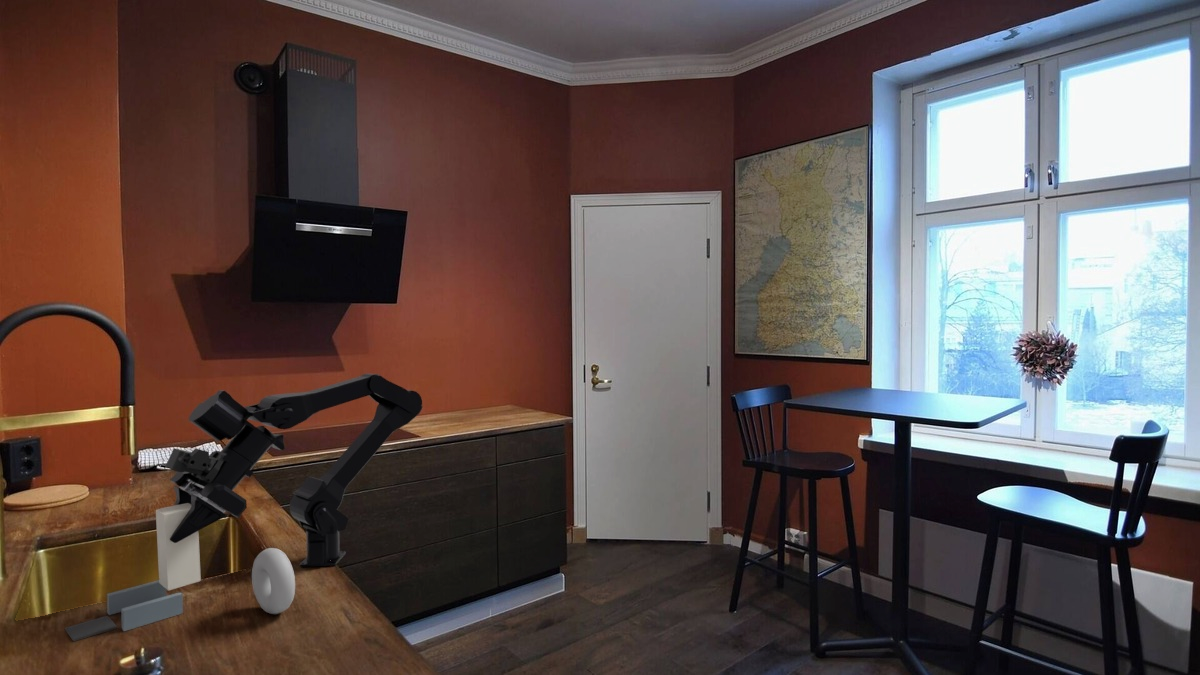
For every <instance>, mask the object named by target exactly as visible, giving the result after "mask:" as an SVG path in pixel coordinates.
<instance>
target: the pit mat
mask: <svg viewBox="0 0 1200 675" xmlns="http://www.w3.org/2000/svg"><path fill="white" fill-rule="evenodd" d="M64 628H65V629H64V630H65V632H66V633H67V635H68V636H69V637H70V639H71V640H72V641H73V642H76V641H80V640H83V639H86V638H90V637H93V636H97V635H99V634H103V633H106V632H109V631H113V630H116V629H118V625H116V624H115V622H114V621H113V620H112V619H111V617H109V615H104V616H101V617H98V618H94V619H91V620H87V621H83V622H80V623H76V624H73V625H70V626H66V627H64Z"/></svg>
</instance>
